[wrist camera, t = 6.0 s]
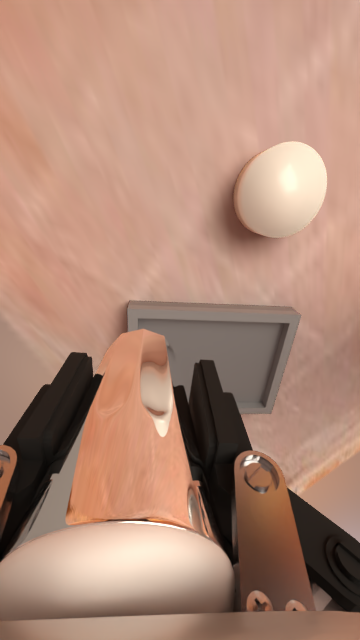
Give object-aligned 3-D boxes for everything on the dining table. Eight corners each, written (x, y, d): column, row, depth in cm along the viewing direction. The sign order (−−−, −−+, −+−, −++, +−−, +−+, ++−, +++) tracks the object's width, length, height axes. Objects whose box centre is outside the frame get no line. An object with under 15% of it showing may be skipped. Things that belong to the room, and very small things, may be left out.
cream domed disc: (316, 153, 22) (339, 146, 19) (295, 236, 25) (312, 240, 22) (239, 145, 21) (251, 136, 18) (227, 231, 24) (236, 235, 21)
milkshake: (180, 407, 13) (226, 825, 4) (81, 380, 12) (-140, 894, 3) (219, 340, 12) (420, 790, 3) (110, 300, 10) (-184, 897, 1)
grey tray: (291, 306, 28) (301, 314, 26) (264, 401, 34) (271, 413, 32) (129, 300, 26) (127, 308, 24) (131, 401, 32) (129, 414, 30)
